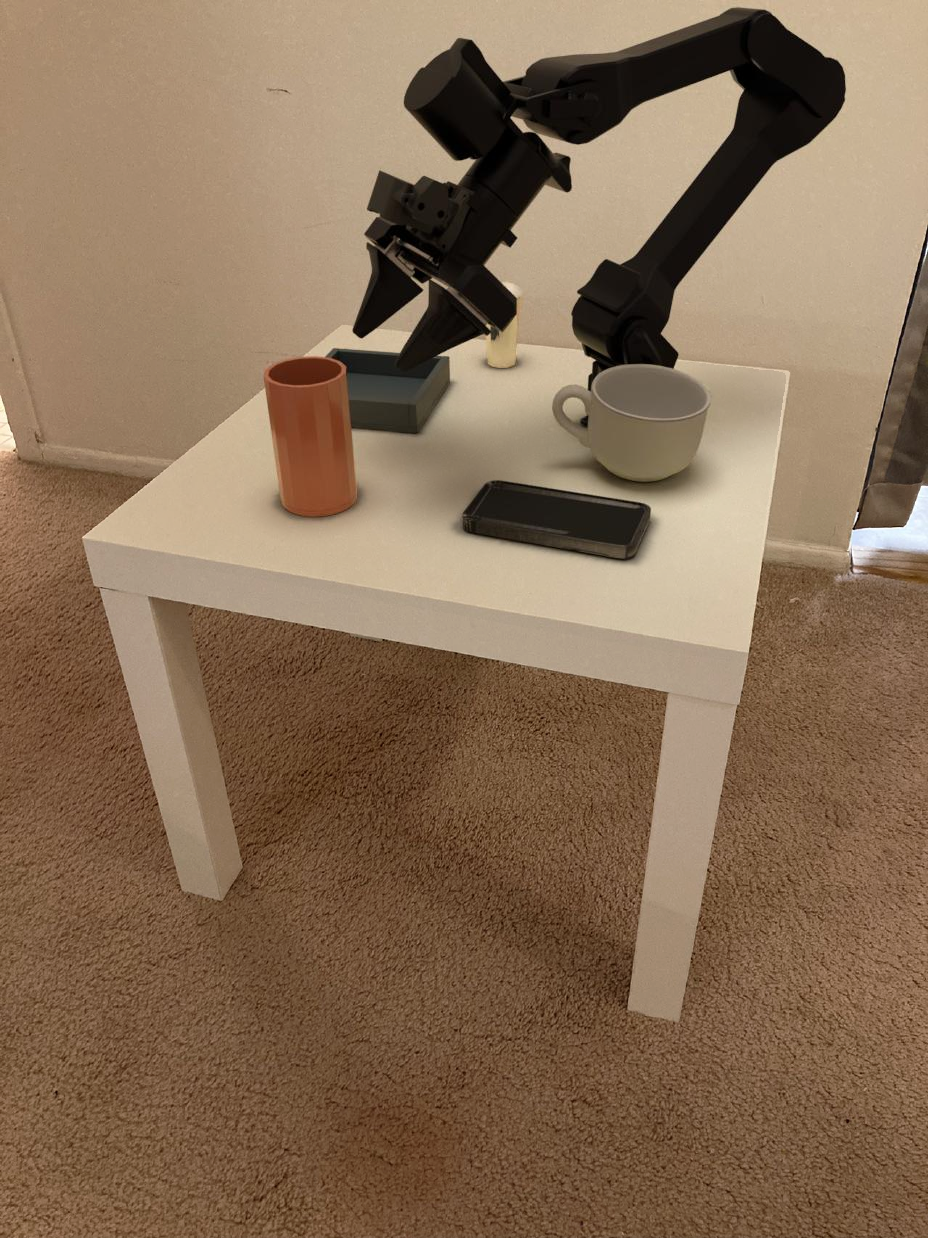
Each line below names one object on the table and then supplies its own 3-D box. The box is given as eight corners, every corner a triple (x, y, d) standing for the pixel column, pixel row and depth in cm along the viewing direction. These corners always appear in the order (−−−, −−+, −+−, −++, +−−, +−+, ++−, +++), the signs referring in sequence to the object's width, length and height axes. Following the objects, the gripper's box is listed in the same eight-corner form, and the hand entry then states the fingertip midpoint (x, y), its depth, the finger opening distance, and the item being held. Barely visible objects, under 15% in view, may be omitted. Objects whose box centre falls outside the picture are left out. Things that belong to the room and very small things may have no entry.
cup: (372, 495, 90) (362, 368, 83) (317, 524, 85) (301, 393, 78) (321, 473, 93) (308, 350, 86) (266, 501, 89) (247, 373, 82)
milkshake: (478, 372, 113) (477, 283, 108) (485, 355, 118) (484, 269, 112) (517, 373, 113) (519, 285, 107) (523, 357, 117) (524, 270, 111)
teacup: (701, 449, 96) (716, 371, 91) (692, 503, 88) (708, 420, 83) (560, 430, 99) (567, 353, 94) (538, 480, 90) (545, 398, 86)
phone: (489, 478, 89) (653, 504, 85) (489, 489, 90) (652, 515, 85) (457, 519, 83) (633, 549, 79) (458, 530, 84) (632, 561, 79)
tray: (450, 382, 111) (449, 356, 109) (417, 433, 100) (415, 404, 98) (335, 373, 114) (333, 347, 112) (291, 422, 103) (288, 394, 101)
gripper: (378, 113, 84) (269, 265, 86) (482, 149, 70) (350, 329, 72) (462, 201, 91) (360, 339, 93) (571, 249, 77) (448, 409, 80)
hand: (376, 351), depth 85 cm, fingers open, 9 cm apart
